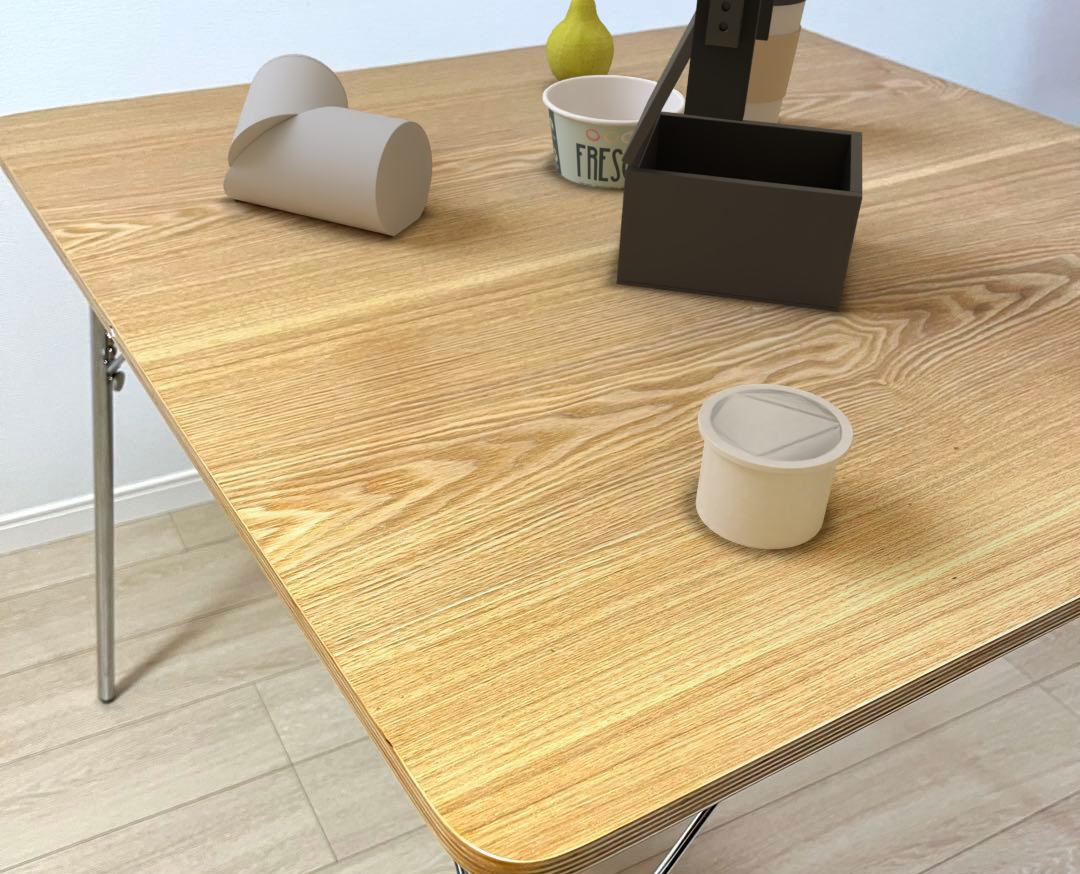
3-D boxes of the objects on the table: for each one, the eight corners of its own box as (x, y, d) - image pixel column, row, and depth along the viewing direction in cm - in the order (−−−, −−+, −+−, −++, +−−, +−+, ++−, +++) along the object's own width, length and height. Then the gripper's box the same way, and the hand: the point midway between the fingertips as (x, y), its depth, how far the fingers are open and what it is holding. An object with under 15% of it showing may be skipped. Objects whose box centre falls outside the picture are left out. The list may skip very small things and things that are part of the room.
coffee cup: (762, 160, 102) (790, -21, 93) (672, 138, 106) (690, -38, 97) (799, 131, 109) (829, -41, 99) (713, 112, 112) (734, -56, 103)
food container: (660, 146, 104) (667, 73, 100) (693, 198, 95) (703, 119, 91) (530, 150, 103) (532, 75, 98) (552, 203, 93) (555, 123, 89)
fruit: (612, 100, 114) (621, -31, 106) (543, 97, 114) (548, -34, 106) (610, 78, 119) (619, -48, 112) (545, 76, 119) (549, -50, 112)
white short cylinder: (832, 486, 64) (854, 394, 60) (829, 574, 58) (853, 478, 54) (693, 465, 65) (706, 374, 61) (677, 550, 59) (690, 454, 55)
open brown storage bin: (838, 244, 89) (862, 131, 83) (836, 319, 79) (862, 197, 74) (641, 221, 91) (651, 110, 86) (615, 290, 82) (625, 170, 76)
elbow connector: (143, 195, 89) (362, 247, 83) (137, 49, 84) (370, 94, 78) (277, 171, 104) (473, 214, 97) (279, 46, 99) (485, 83, 93)
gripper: (743, -473, 54) (689, 4, 68) (663, -533, 35) (610, 147, 49) (904, -468, 53) (817, 17, 66) (911, -526, 34) (787, 169, 47)
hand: (729, 73), depth 58 cm, fingers open, 13 cm apart
